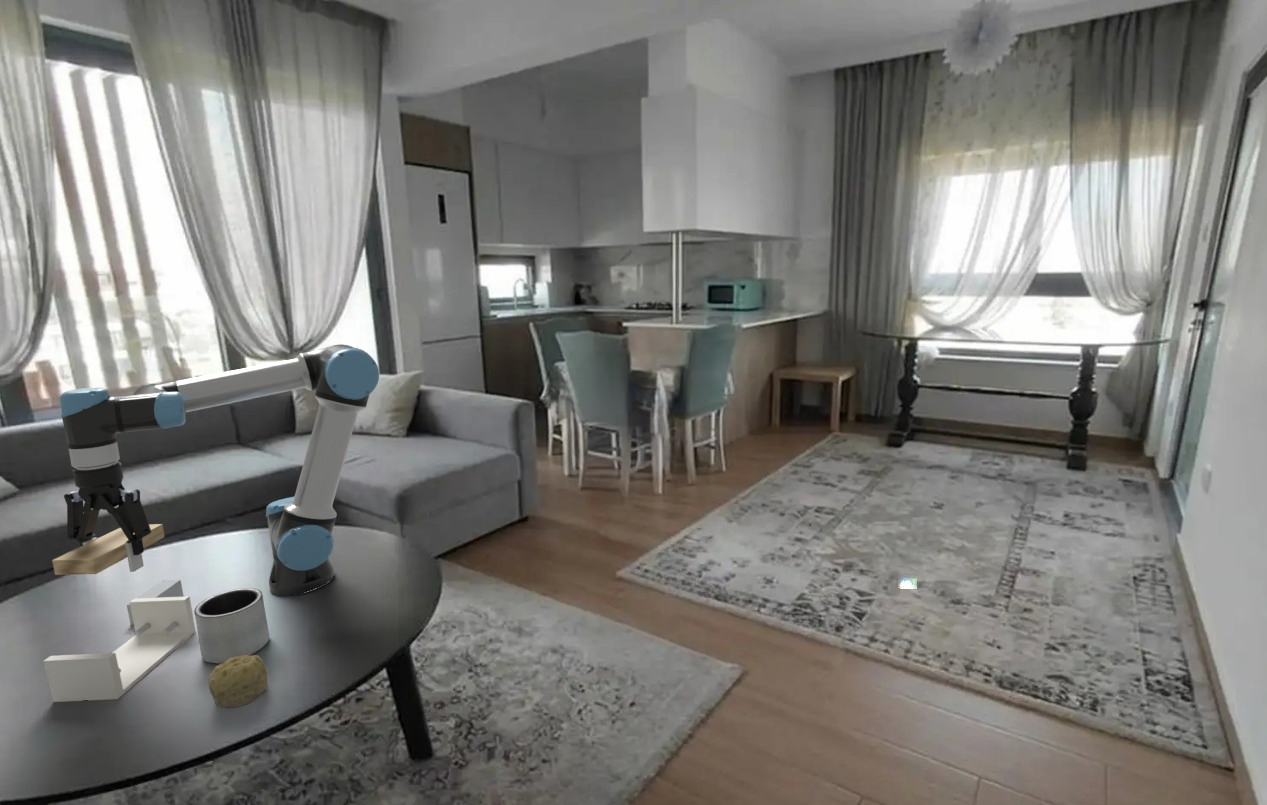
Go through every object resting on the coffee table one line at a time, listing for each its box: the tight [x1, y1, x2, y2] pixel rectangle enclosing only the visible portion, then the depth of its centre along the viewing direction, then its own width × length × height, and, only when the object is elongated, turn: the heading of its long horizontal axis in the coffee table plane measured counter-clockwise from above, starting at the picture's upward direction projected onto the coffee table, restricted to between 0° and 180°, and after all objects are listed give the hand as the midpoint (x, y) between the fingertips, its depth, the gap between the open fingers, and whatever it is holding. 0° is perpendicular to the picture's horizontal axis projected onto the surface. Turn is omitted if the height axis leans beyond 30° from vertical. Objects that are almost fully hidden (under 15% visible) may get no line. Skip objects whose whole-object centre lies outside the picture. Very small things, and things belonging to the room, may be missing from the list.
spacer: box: [126, 579, 185, 625], centre depth 151 cm, size 4×12×5 cm, turn 2°
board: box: [52, 523, 166, 576], centre depth 130 cm, size 8×18×3 cm, turn 0°
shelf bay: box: [43, 595, 197, 703], centre depth 130 cm, size 12×23×9 cm, turn 2°
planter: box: [194, 587, 270, 665], centre depth 134 cm, size 13×12×11 cm
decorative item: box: [208, 654, 269, 709], centre depth 119 cm, size 10×10×10 cm
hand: (116, 569), depth 131 cm, fingers closed on board, 8 cm apart
